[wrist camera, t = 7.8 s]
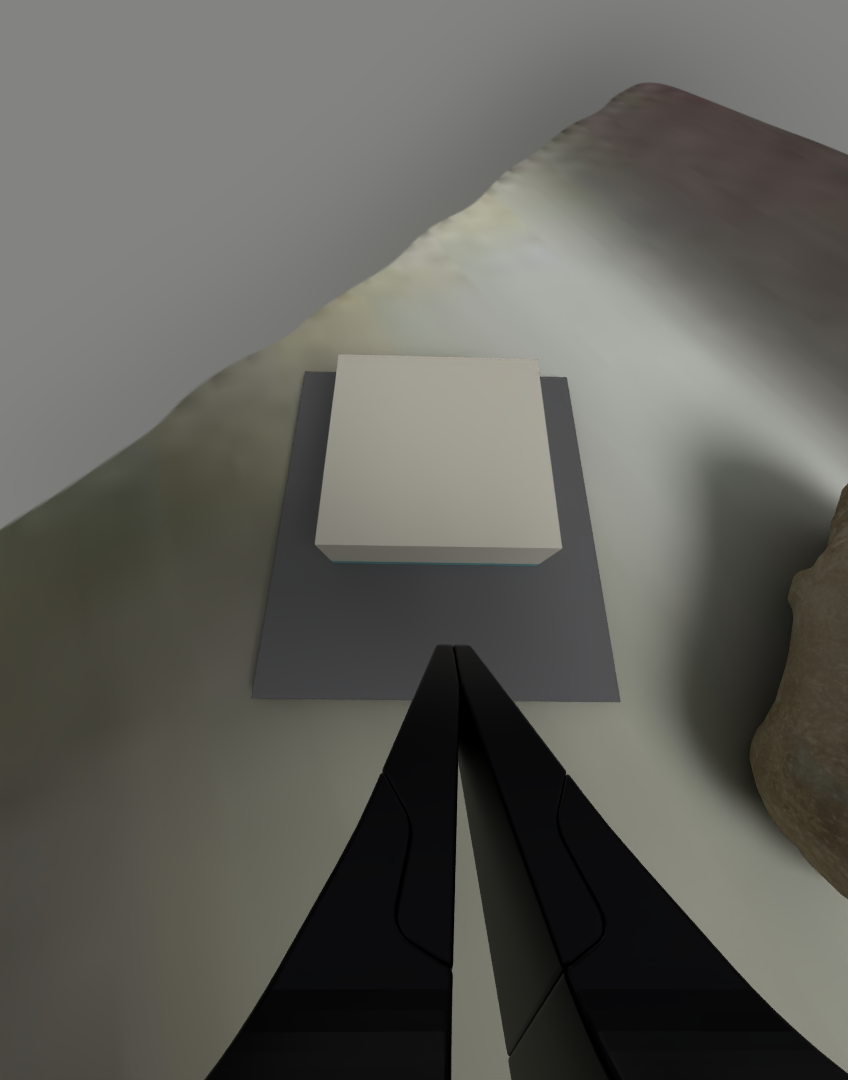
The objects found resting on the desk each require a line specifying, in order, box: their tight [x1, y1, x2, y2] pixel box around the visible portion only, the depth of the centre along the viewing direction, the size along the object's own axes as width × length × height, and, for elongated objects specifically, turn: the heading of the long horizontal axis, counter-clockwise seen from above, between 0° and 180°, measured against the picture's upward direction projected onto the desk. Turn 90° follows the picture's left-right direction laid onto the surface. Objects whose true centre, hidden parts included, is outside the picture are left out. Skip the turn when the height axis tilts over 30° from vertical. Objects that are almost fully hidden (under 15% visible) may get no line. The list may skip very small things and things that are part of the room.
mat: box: [251, 372, 620, 702], centre depth 17 cm, size 18×16×1 cm
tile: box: [315, 354, 562, 566], centre depth 16 cm, size 3×10×10 cm
